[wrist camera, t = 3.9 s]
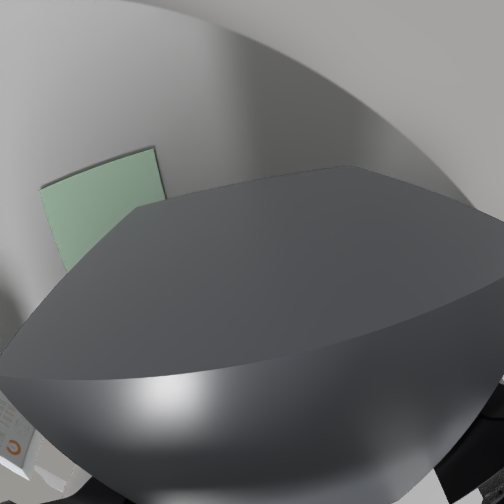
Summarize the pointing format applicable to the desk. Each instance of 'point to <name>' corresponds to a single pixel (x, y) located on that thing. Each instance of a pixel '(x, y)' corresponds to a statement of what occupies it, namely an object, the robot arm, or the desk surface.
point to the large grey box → (270, 342)
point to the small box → (17, 440)
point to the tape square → (99, 202)
